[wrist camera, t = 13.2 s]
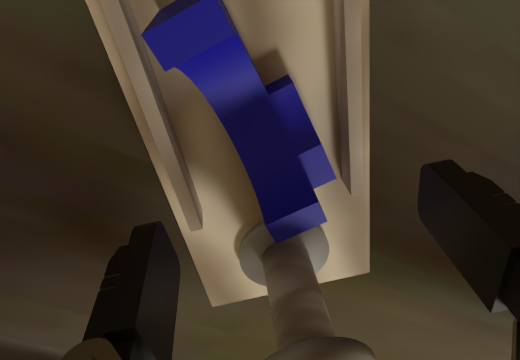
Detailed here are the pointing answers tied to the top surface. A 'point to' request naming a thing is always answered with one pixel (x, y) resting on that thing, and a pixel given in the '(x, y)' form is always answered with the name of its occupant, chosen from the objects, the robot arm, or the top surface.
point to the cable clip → (248, 111)
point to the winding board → (234, 173)
